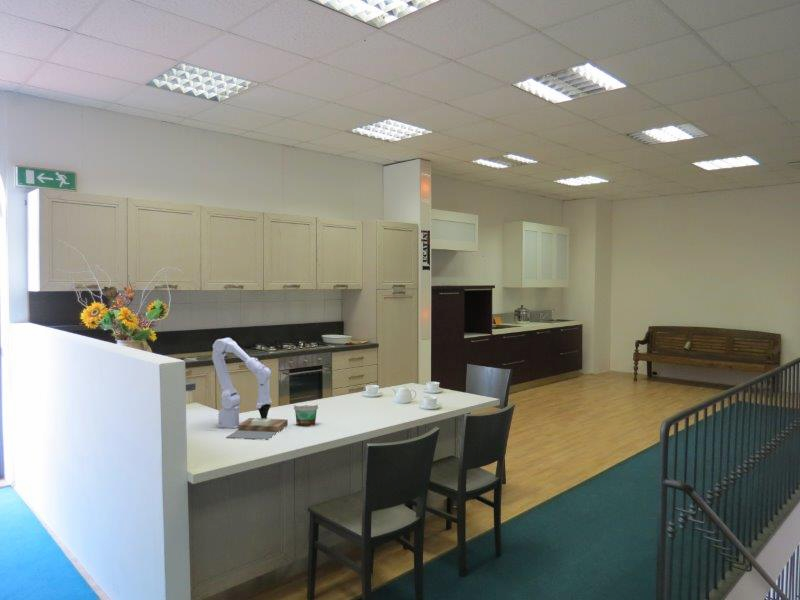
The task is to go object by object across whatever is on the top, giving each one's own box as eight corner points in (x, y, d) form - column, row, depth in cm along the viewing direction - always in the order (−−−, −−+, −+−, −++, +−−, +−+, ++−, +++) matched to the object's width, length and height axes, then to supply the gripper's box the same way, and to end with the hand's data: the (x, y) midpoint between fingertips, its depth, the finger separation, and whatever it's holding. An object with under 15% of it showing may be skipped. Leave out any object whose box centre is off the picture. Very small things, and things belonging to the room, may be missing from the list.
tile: (251, 425, 270) (251, 420, 269) (255, 421, 275) (255, 417, 275) (267, 425, 269) (267, 421, 269) (271, 422, 275) (271, 418, 275)
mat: (226, 438, 257) (226, 437, 257) (237, 431, 269) (237, 430, 269) (267, 440, 255) (267, 439, 255) (277, 433, 266) (277, 432, 266)
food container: (293, 427, 277) (293, 407, 277) (293, 424, 283) (293, 404, 283) (318, 426, 280) (318, 406, 279) (318, 423, 286) (318, 403, 285)
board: (237, 431, 270) (237, 424, 270) (249, 423, 284) (249, 417, 283) (277, 432, 267) (277, 426, 267) (287, 425, 281) (287, 419, 281)
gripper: (266, 395, 268) (266, 423, 268) (276, 389, 282) (276, 416, 283) (252, 395, 269) (252, 423, 269) (263, 389, 283) (263, 416, 284)
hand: (263, 419), depth 276 cm, fingers closed
